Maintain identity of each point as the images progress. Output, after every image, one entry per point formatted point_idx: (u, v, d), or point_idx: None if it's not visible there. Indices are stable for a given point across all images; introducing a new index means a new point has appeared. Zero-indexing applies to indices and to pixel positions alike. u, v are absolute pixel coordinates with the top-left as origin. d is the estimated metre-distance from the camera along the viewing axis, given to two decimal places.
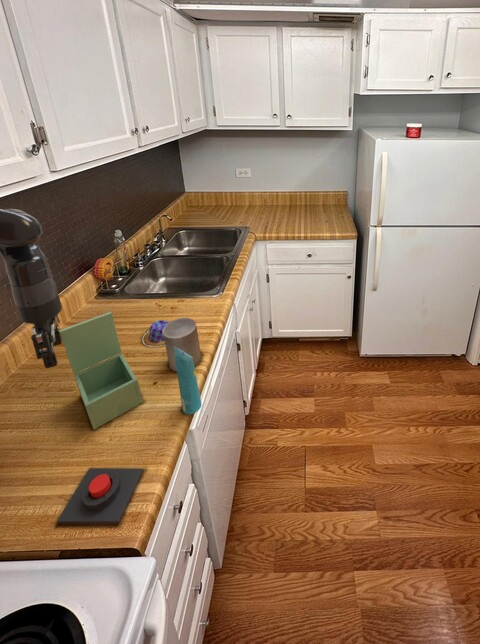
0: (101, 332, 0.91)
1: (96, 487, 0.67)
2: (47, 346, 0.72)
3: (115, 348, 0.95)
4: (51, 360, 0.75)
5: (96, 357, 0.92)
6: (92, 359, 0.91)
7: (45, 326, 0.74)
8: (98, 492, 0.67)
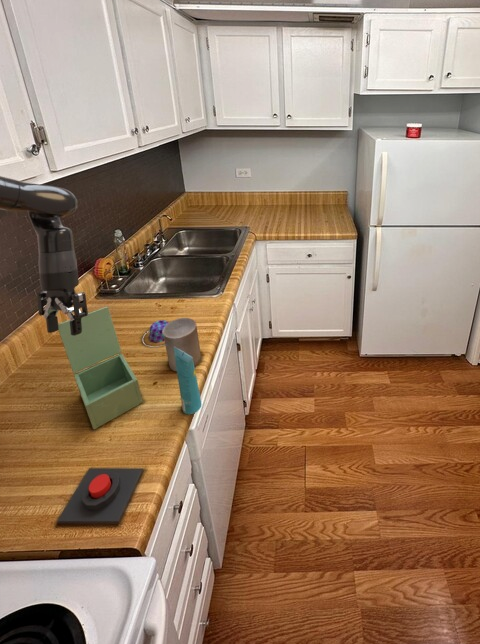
0: (99, 328, 0.92)
1: (96, 487, 0.67)
2: (85, 305, 0.81)
3: (114, 347, 0.95)
4: (80, 325, 0.82)
5: (95, 356, 0.92)
6: (91, 358, 0.92)
7: (75, 292, 0.82)
8: (98, 492, 0.67)
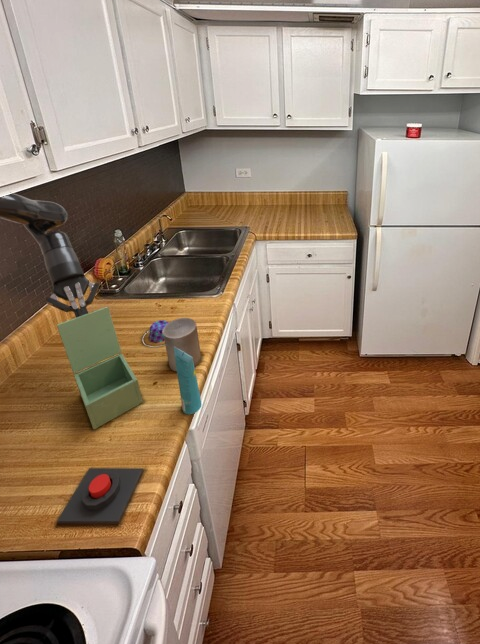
0: (99, 328, 0.92)
1: (96, 487, 0.67)
2: None
3: (114, 347, 0.95)
4: (87, 312, 0.93)
5: (95, 356, 0.92)
6: (91, 358, 0.92)
7: None
8: (98, 492, 0.67)
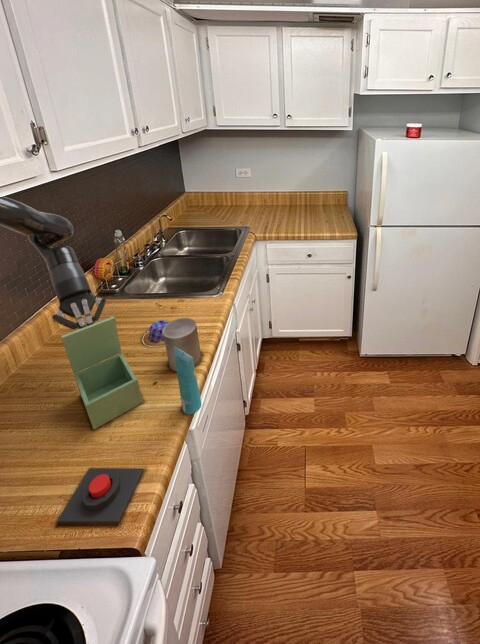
0: (103, 336, 0.90)
1: (96, 487, 0.67)
2: (101, 311, 0.94)
3: (115, 349, 0.95)
4: None
5: (96, 358, 0.92)
6: (92, 360, 0.91)
7: None
8: (98, 492, 0.67)
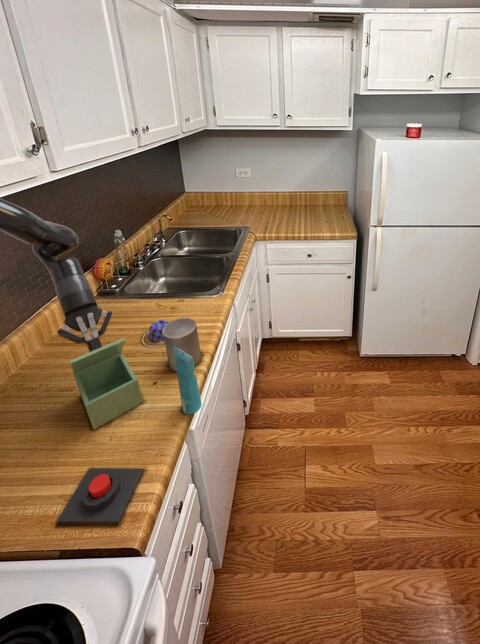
0: (109, 351, 0.88)
1: (96, 487, 0.67)
2: (107, 325, 0.92)
3: (117, 353, 0.94)
4: (100, 343, 0.88)
5: (98, 361, 0.92)
6: (94, 363, 0.91)
7: None
8: (98, 492, 0.67)
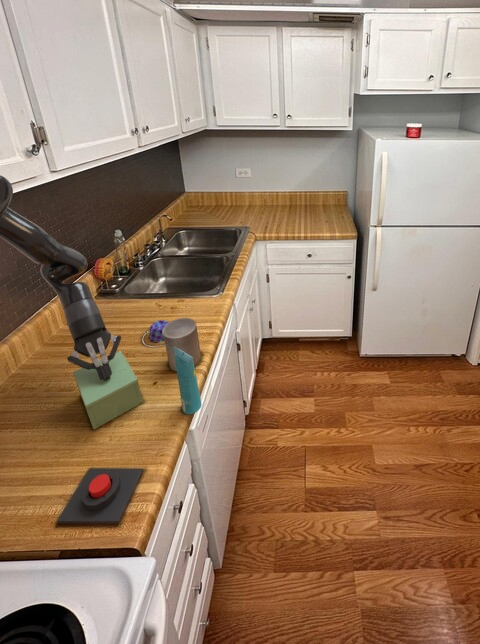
0: None
1: (96, 487, 0.67)
2: None
3: None
4: None
5: None
6: None
7: None
8: (98, 492, 0.67)
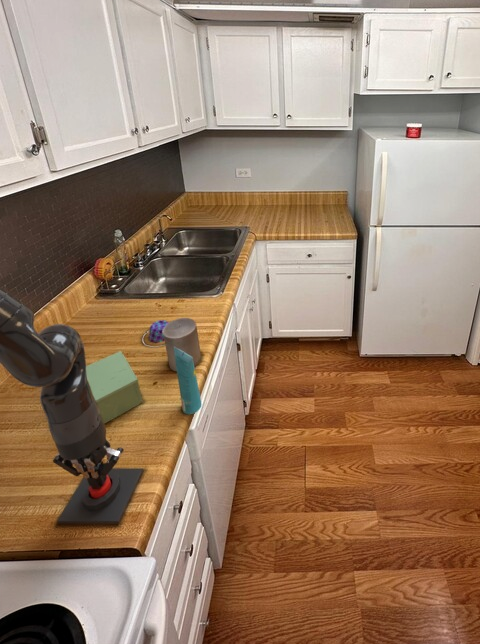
0: None
1: None
2: None
3: None
4: None
5: None
6: None
7: (107, 441, 0.65)
8: (98, 493, 0.67)
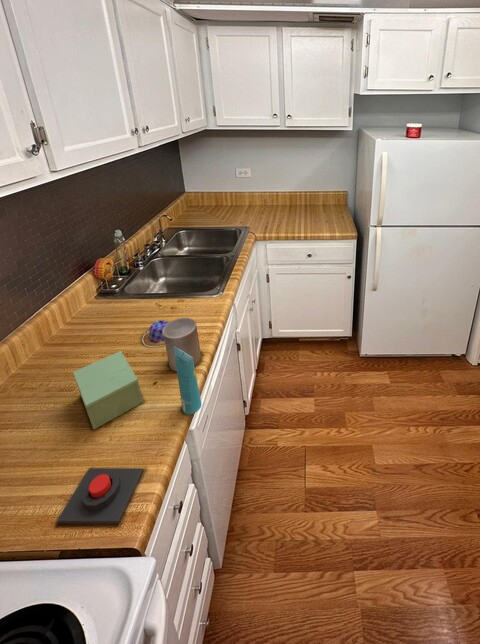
0: None
1: (96, 487, 0.67)
2: None
3: None
4: None
5: None
6: None
7: None
8: (98, 492, 0.67)
